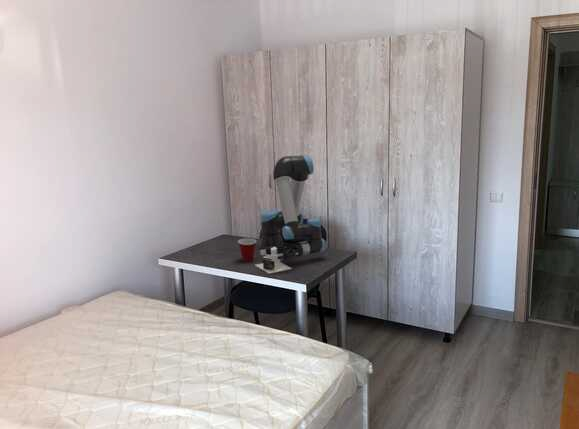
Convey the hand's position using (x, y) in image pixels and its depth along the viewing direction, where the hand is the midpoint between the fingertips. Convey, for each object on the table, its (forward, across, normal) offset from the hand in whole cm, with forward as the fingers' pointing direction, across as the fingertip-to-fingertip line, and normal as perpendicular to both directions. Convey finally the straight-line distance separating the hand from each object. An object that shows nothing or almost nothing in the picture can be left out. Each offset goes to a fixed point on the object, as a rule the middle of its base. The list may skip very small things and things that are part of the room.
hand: (266, 255), depth 257 cm
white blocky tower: (-3, 0, -8) cm, 9 cm away
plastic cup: (+1, +23, -8) cm, 24 cm away
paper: (-5, +3, -8) cm, 10 cm away
